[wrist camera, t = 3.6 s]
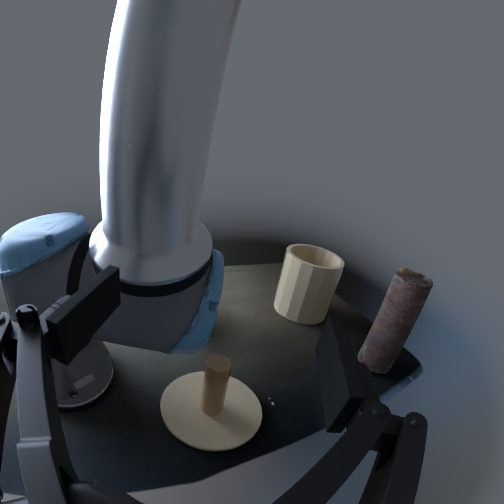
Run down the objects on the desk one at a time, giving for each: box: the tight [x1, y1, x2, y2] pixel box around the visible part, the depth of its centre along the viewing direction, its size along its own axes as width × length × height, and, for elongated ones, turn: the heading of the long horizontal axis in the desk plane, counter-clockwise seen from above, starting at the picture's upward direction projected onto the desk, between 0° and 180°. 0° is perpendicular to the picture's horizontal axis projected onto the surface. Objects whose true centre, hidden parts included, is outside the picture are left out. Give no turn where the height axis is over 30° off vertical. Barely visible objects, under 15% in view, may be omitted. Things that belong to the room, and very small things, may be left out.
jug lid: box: [160, 354, 262, 451], centre depth 32 cm, size 14×14×10 cm
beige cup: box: [274, 244, 344, 325], centre depth 62 cm, size 13×13×14 cm
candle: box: [358, 268, 433, 374], centre depth 45 cm, size 8×7×20 cm
